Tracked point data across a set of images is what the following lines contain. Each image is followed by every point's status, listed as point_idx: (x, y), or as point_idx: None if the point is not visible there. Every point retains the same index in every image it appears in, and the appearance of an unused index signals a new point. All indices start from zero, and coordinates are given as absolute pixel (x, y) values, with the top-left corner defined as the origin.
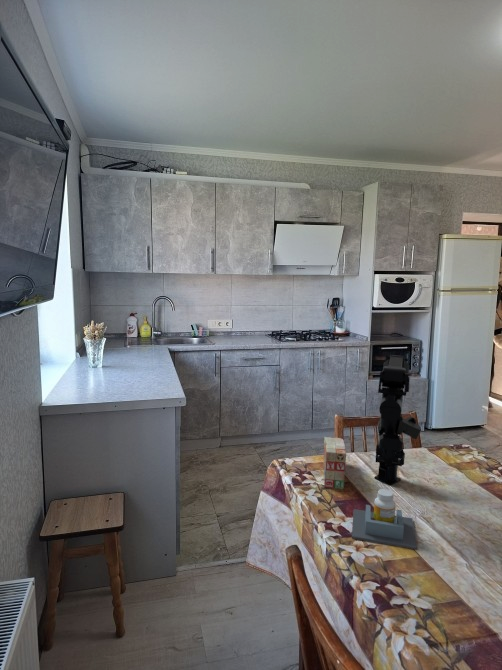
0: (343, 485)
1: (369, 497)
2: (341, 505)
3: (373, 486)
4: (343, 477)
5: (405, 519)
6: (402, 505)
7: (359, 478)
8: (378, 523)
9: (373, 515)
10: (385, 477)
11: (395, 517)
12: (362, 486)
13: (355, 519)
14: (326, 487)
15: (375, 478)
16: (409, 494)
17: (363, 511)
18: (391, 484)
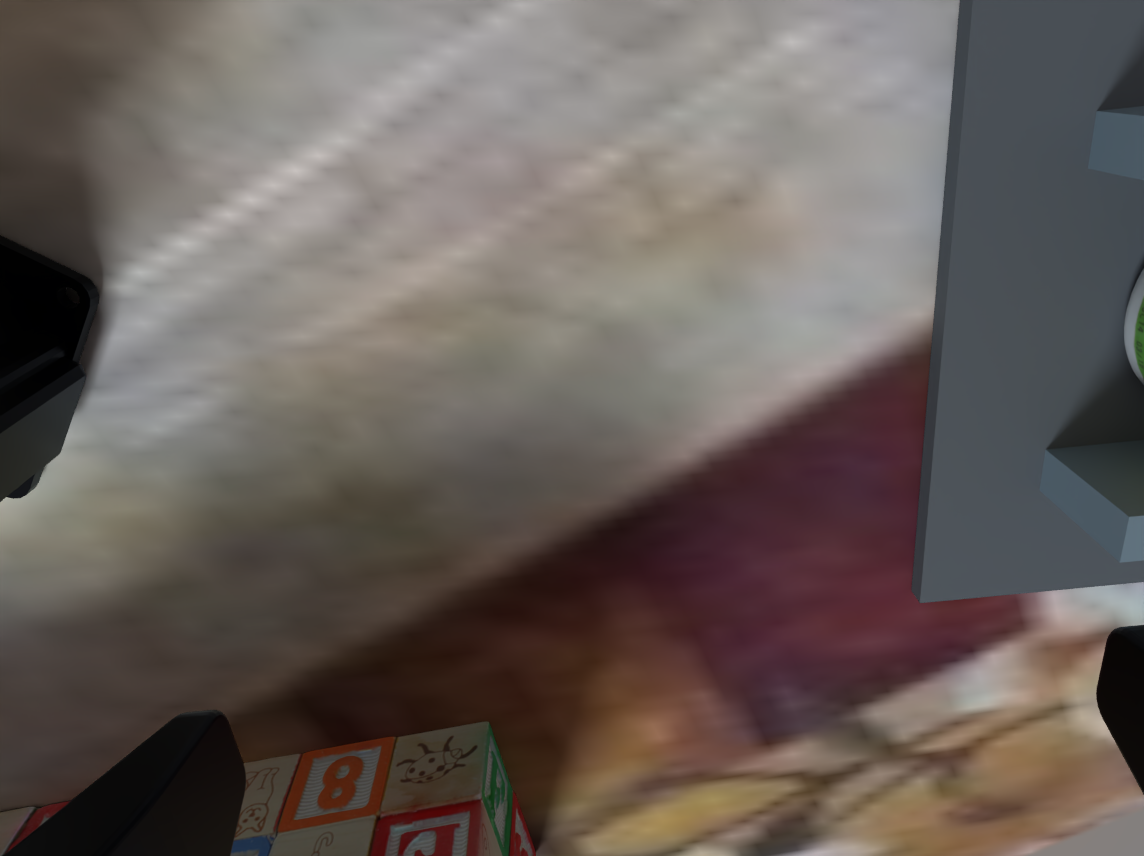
0: (487, 754)
1: (556, 485)
2: (832, 690)
3: (253, 473)
4: (483, 836)
5: (1027, 47)
6: (595, 99)
7: (141, 626)
8: None
9: (1008, 416)
10: (47, 388)
11: (1001, 177)
12: (325, 577)
13: (1126, 563)
14: (530, 841)
15: (37, 478)
16: (211, 6)
17: (945, 515)
18: (81, 277)
